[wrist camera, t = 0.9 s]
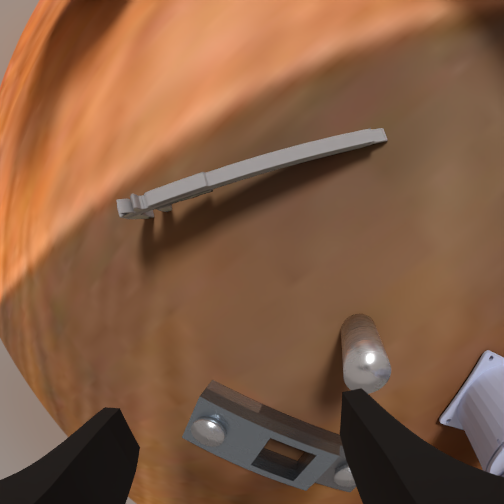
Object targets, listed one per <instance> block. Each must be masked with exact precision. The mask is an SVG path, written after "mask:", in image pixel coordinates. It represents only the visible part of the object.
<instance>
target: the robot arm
mask: <svg viewBox="0 0 504 504" xmlns="http://www.w3.org/2000/svg"><path fill="white" fill-rule="evenodd" d="M490 356H492V357H491V358H490ZM489 358H490V359H489ZM448 419H449V420H448ZM447 420H448V421H447ZM439 421H440V423H441V424H444V425H448V426H451V427H455V428H458V429H462V430H464V431H465V433H466V435H467V437H468V439H469V441H470V443H471V445H472V447H473V449H474V451H475V453H476V456H477V458H478V460H479V462H480V464H481V467H482V469H483V470H480V469H478V468H475V467H472V466H470V465H467V464H465V463H463V462H461V461H459V460H456V459H454V458H453V457H451V456H449V455H447V454H445V453H443V452H441V451H440V450H438V449H436V448H435V447H433V446H432V445H430V444H429V443H427V442H426V441H424V440H423V439H421V438H420V437H418V436H417V435H416V434H414V433H413V432H411V431H410V430H409V429H408V428H406V427H405V426H404V425H403V424H401V423H400V422H399V421H398V420H396V419H395V418H394V417H393V416H392V415H390V414H389V413H388V412H387V411H386V410H385V409H384V408H382V407H381V406H380V405H379V404H378V403H377V402H376V401H375V400H374V399H373V398H372V397H371V396H370V395H368V394H367V393H366V392H365V391H364V390H363V389H362V388H360V389H355V390H351V391H346V392H342V410H341V426H340V437H341V441H342V445H343V449H344V453H345V457H346V461H347V463H348V466H349V468H350V471H351V474H352V476H353V479H354V481H355V484H356V486H357V489H358V492H359V494H360V497H361V499H362V502H363V504H504V357H502V356H500V355H498V354H496V353H493V352H491V351H489V350H487V351H485V352H484V353H483V355H482V356H481V358H480V360H479V361H478V363H477V365H476V366H475V368H474V369H473V371H472V373H471V374H470V376H469V377H468V379H467V380H466V382H465V383H464V385H463V386H462V388H461V389H460V391H459V392H458V394H457V395H456V396H455V398H454V399H453V401H452V402H451V403H450V405H449V406H448V407H447V409H446V410H445V411H444V413H443V414H442V415H441V417H440V418H439ZM139 449H140V447H139V445H138V443H137V441H136V439H135V438H134V436H133V434H132V432H131V430H130V428H129V426H128V424H127V422H126V420H125V418H124V416H123V414H122V412H121V410H120V408H106V407H105V408H103V409H102V410H101V411H99V412H98V413H97V414H96V415H95V416H93V417H92V418H91V419H90V420H89V421H87V422H86V423H85V424H84V425H83V426H82V427H80V428H79V429H78V430H77V431H76V432H74V433H73V434H72V435H71V436H70V437H68V438H67V439H66V440H65V441H64V442H62V443H61V444H60V445H58V446H57V447H56V448H54V449H53V450H52V451H50V452H49V453H48V454H47V455H45V456H44V457H42V458H41V459H40V460H38V461H36V462H35V463H33V464H32V465H30V466H28V467H27V468H25V469H23V470H21V471H19V472H17V473H16V474H13V475H11V476H9V477H7V478H4V479H2V480H0V504H125V503H126V500H127V497H128V494H129V491H130V488H131V485H132V482H133V479H134V475H135V472H136V467H137V462H138V456H139Z"/></svg>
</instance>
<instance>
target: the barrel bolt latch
mask: <svg viewBox="0 0 504 504" xmlns="http://www.w3.org/2000/svg"><path fill="white" fill-rule="evenodd" d="M182 438H184V439H186V440H188V441H189V442H191V443H193V444H195V445H197V446H199V447H201V448H203V449H205V450H207V451H209V452H211V453H213V454H215V455H217V456H219V457H221V458H223V459H225V460H228V461H230V462H232V463H234V464H236V465H239V466H241V467H243V468H246V469H248V470H250V471H253V472H255V473H258V474H260V475H263V476H265V477H268V478H271V479H273V480H276V481H279V482H282V483H284V484H287V485H290V486H293V487H296V488H299V489H302V490H307V489H308V488H309V487H310V486H311V485H312V484H313V483H314V482H315V483H318V484H321V485H325V486H328V487H332V488H335V489H339V490H343V491H347V492H351V491H352V490H353V489H354V488H355V487H356V484H355V481H354V479H353V476H352V474H351V471H350V468H349V466H348V463H347V461H346V457H345V453H344V449H343V445H342V441H341V437H340V435H338V434H336V433H333V432H330V431H327V430H324V429H322V428H319V427H316V426H314V425H311V424H309V423H306V422H303V421H301V420H298V419H296V418H294V417H291V416H289V415H286V414H284V413H282V412H279V411H277V410H275V409H272V408H270V407H268V406H265V405H263V404H261V403H259V402H257V401H255V400H252V399H250V398H248V397H246V396H244V395H242V394H240V393H238V392H236V391H234V390H232V389H230V388H228V387H226V386H224V385H222V384H220V383H218V382H216V381H214V380H212V381H211V382H210V384H209V385H208V386H207V388H206V389H205V390H204V391H203V393H202V394H201V395H200V397H199V399H198V401H197V404H196V406H195V408H194V411H193V413H192V415H191V418H190V420H189V422H188V425H187V427H186V429H185V432H184V434H183V436H182ZM270 438H272V439H275V440H277V441H279V442H282V443H284V444H287V445H290V446H292V447H295V448H297V449H300V450H303V451H306V452H305V453H304V454H303V455H302V456H301V458H300V459H299V460H298V461H296V460H293V459H291V458H288V457H285V456H283V455H280V454H278V453H275V452H273V451H270V450H268V449H265V448H263V447H264V446H265V444H266V443H267V442H268V440H269V439H270Z"/></svg>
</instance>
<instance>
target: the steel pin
mask: <svg viewBox="0 0 504 504" xmlns="http://www.w3.org/2000/svg"><path fill="white" fill-rule="evenodd" d="M341 342H342V357H343V374H344V381H345V384H346V385H347V387H348V388H349V389H351V390H355V389H360V388H362V389H363V390H364V391H365V392H366V393H367V394H368V393H372V392H375V391H377V390H379V389H380V388H382V387H383V386H384V385H385V384H386V383H387V381H388V380H389V377H390V374H391V366H390V363H389V360H388V357H387V354H386V352H385V349H384V346H383V344H382V341H381V339H380V336H379V333H378V331H377V328H376V326H375V323H374V321H373V320H372V319H371V318H370V317H369V316H367V315H364V314H355V315H352V316H350V317H348V318H347V319H346V320H345V321H344V323H343V324H342V327H341Z"/></svg>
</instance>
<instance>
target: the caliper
mask: <svg viewBox="0 0 504 504" xmlns="http://www.w3.org/2000/svg"><path fill="white" fill-rule="evenodd" d="M385 141H388V140H387V137H386V135H385V132H384V129H383V128H382V129H381V128H379V129H374V130H371V129H366V130H361V131H356V132H351V133H347V134H342V135H338V136H333V137H329V138H325V139H321V140H317V141H313V142H309V143H305V144H301V145H297V146H293V147H289V148H286V149H282V150H278V151H275V152H271V153H268V154H264V155H261V156H257V157H254V158H251V159H247V160H244V161H241V162H238V163H234V164H231V165H228V166H225V167H222V168H219V169H216V170H213V171H210V172H207V173H205V172H202V173H199V174H196V175H193V176H190V177H187V178H184V179H181V180H178V181H176V182H173V183H170V184H167V185H165V186H162V187H159V188H156V189H154V190H151V191H148V192H146V193H144V195H143V196H137V195H135V194H131V196H130V198H131V199H119V200H117V208H118V212H119V216H120V217H121V218H126V219H149V218H153V217H154V214H153V210H154V209H157V210H160V211H163V212H164V211H165V212H168V211H171V210H172V204H173V203H176V202H179V201H184V200H187V199H191V198H194V197H197V196H199V195H202V194H206V193H209V192H212V191H213V189H215V188H218V187H221V186H224V185H227V184H231V183H234V182H237V181H240V180H243V179H247V178H250V177H253V176H257V175H260V174H263V173H267V172H270V171H274V170H277V169H281V168H284V167H288V166H292V165H295V164H299V163H303V162H307V161H310V160H314V159H318V158H322V157H326V156H330V155H334V154H338V153H342V152H346V151H351V150H354V149H358V148H362V147H366V146H369V145H372V144H375V143H380V142H385Z"/></svg>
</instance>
